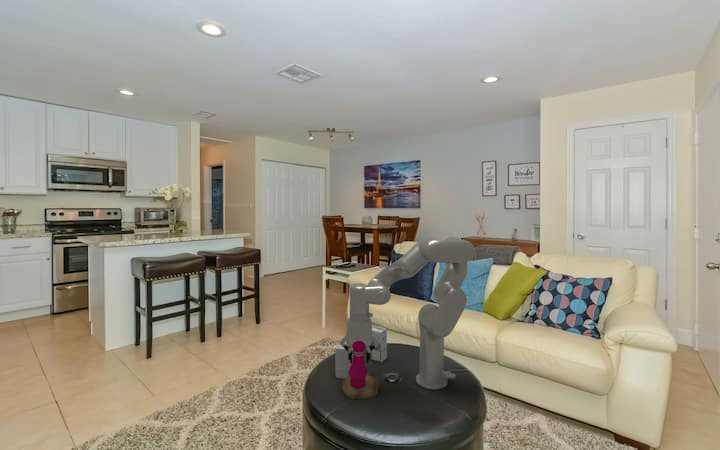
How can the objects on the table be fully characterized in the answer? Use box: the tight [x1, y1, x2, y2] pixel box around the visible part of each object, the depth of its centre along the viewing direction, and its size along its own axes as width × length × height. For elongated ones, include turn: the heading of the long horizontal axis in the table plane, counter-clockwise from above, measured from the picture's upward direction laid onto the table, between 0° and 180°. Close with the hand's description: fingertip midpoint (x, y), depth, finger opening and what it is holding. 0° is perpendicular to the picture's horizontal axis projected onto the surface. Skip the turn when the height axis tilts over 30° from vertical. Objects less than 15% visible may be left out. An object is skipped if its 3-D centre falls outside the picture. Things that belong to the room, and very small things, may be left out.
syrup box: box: [370, 325, 388, 363], centre depth 165 cm, size 6×6×14 cm
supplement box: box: [334, 341, 353, 380], centre depth 151 cm, size 7×7×13 cm
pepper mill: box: [349, 341, 368, 388], centre depth 138 cm, size 7×7×20 cm
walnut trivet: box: [341, 374, 379, 400], centre depth 140 cm, size 14×14×2 cm
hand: (359, 361), depth 139 cm, fingers open, 5 cm apart
